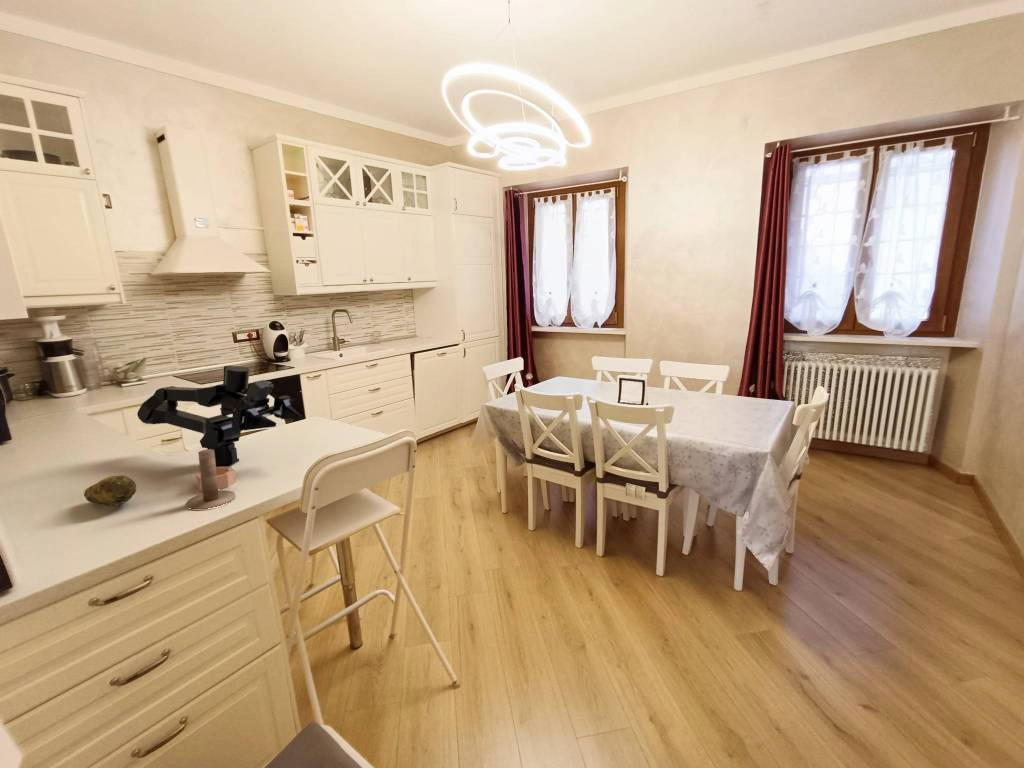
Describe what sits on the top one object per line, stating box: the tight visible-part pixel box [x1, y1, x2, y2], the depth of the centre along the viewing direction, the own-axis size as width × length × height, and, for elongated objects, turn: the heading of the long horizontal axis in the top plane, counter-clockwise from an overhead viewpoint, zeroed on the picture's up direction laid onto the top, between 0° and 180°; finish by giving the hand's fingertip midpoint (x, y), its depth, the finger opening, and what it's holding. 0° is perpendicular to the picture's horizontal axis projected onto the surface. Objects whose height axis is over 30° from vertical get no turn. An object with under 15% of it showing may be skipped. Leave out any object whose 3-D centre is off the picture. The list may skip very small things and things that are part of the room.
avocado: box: [83, 474, 137, 506], centre depth 105 cm, size 8×13×8 cm, turn 51°
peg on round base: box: [185, 448, 236, 510], centre depth 109 cm, size 10×10×13 cm
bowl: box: [195, 466, 236, 491], centre depth 119 cm, size 8×8×4 cm
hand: (288, 420), depth 125 cm, fingers open, 9 cm apart
